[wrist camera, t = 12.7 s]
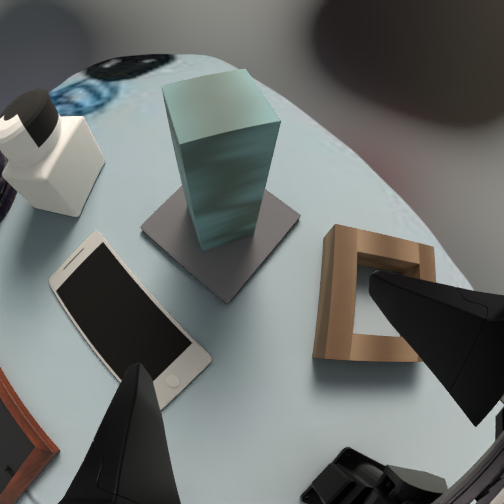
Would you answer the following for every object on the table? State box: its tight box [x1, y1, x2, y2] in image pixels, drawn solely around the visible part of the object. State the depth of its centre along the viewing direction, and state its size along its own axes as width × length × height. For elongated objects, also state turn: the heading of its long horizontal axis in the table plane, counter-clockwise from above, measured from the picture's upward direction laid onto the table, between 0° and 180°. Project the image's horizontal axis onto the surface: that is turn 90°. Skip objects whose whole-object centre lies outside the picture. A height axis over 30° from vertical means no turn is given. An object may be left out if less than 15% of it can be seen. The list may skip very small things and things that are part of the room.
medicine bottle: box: [0, 89, 105, 217], centre depth 19 cm, size 7×7×12 cm
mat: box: [140, 186, 301, 304], centre depth 24 cm, size 10×10×1 cm
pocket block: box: [312, 224, 436, 362], centre depth 22 cm, size 10×10×3 cm
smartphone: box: [49, 231, 212, 410], centre depth 21 cm, size 7×16×1 cm, turn 47°
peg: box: [162, 69, 281, 251], centre depth 18 cm, size 4×4×13 cm
